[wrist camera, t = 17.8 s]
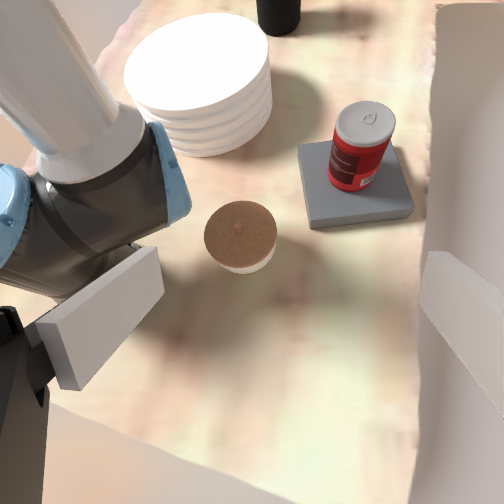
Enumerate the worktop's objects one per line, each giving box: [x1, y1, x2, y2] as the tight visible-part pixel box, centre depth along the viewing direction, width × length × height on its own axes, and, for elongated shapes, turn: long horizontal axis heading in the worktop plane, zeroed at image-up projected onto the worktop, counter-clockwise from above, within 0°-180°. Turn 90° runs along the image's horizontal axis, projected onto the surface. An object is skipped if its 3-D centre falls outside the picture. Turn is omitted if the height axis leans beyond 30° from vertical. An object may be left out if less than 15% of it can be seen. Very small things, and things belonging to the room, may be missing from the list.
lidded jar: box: [204, 201, 277, 274], centre depth 43 cm, size 11×11×9 cm
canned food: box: [328, 101, 396, 192], centre depth 42 cm, size 8×8×11 cm
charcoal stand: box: [298, 140, 415, 229], centre depth 49 cm, size 16×16×3 cm
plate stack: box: [124, 13, 272, 157], centre depth 58 cm, size 28×28×12 cm
